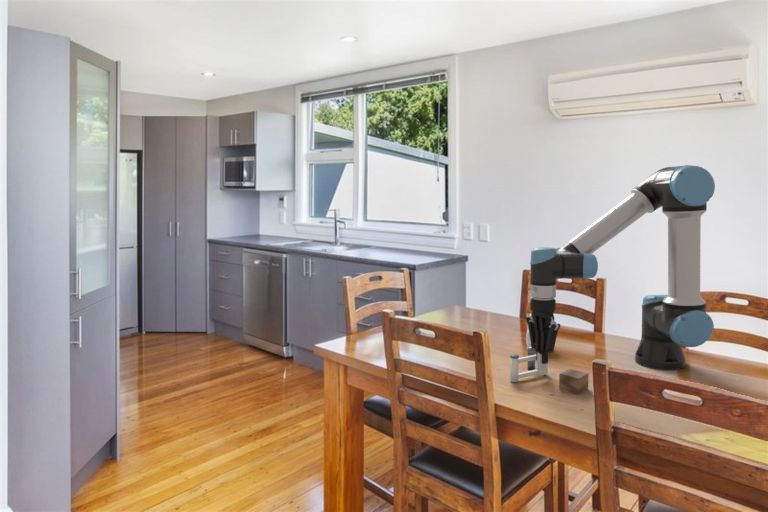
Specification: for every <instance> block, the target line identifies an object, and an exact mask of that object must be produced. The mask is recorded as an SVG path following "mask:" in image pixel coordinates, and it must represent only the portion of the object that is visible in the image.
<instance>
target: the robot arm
mask: <svg viewBox="0 0 768 512" xmlns="http://www.w3.org/2000/svg"><path fill="white" fill-rule="evenodd" d="M715 189H716V183H715V180H714V177H713V176H712V174H711V173H710V171H708V170H707V169H706V168H703V167H702V166H699V165H690V164H685V165H680V166H679V165H678V166H677V165H676V166H668V167H664V168H663V167H662V168H661V169H658V170H656V171H655V172H654V173H652V174H651V175H650V176H647V178H645V179H644V180H643V181H642V182H640V183H638V185H637V186H635V187H633V188H632V189H631V191H630V195H628V196H627V197H626V198H625V199H623V200H622V201H621V202H619V203H618V204H617V205H615V206H614V207H612V208H611V209H610V210H608V212H606V213H605V214H604V215H602V216H601V217H600V218H598V219H597V220H595V221H594V222H593V223H592V224H590V225H589V226H588V227H587V228H585V229H583V230H582V231H581V232H579V234H578V235H576V236H575V237H573V238H572V239H571V240H569V241H568V242H567V243H566V244H564V245H563V246H561V247H557V248H555V247H547V246H546V247H543V246H541V247H539V246H538V247H534V248H533V249H531V251H530V262H529V264H530V287H529V288H530V294H529V295H530V297H531V298H530V299H529V309H530V311H531V314H530V316H527V317H525V321H526V324H528V329H529V335H530V341H531V347H532V348H534V349H535V351H536V353H535V354H536V360H535V361H536V362H537V363H536V365H537V366H536V369H537V373H538V374H537V375H544V373H547V363H549V353H554V351H555V346H556V340H557V338H558V333H559V332H558V331H559V330H560V328H561V324H560V323H557V322H556V321H555V315H554V313H555V311H556V310H557V308H556V305H557V301H556V299H555V298H556V297H557V279H583V280H585V279H593V278H594V277H596V276H597V273H598V270H599V268H598V267H599V263H598V259H597V256H596V255H595V254H593V253H595V252H597V250H599V249H600V248H601V247H603V246H605V244H607V243H608V242H609V241H611V240H612V239H614V238H615V237H617V236H618V235H619V234H620V233H622V232H623V231H624V230H625V229H627V228H628V227H630V226H631V225H632V224H634V223H635V222H636V221H637V220H638V219H639V220H640V218H642V217H643V216H645V214H653V212H655V211H656V210H658V209H660V208H662V213H663V214H664V215H665V216H666V217H667V286H668V287H667V292H668V293H667V294H648V295H645V296H643V299H642V304H641V338H640V341H639V344H638V346H637V349H636V351H635V355H634V360H635V362H636V363H637V364H638V363H639V364H638V365H640V364H641V365H640V366H643V365H644V366H643V367H646V366H647V367H648V368H650V369H654V370H655V369H656V370H668V371H669V370H670V371H672V370H673V371H674V370H681V369H683V368H685V367H686V365H687V363H686V362H687V360H686V356H685V351H684V349H683V347H685V348H686V347H687V348H696V347H699V346H702V345H703V344H705V343H706V342H707V341H708V340H710V338H711V337H712V336H713V332H714V327H715V326H714V325H715V324H714V320H713V319H712V317H711V316H710V314H708V313H707V301H706V300H705V299H704V298H703V297H702V296H701V222H702V221H701V217H702V216H703V215H704V213H706V212H707V211H708V210H707V203H708V202H709V201H710V199H711V198H712V197H713V196H714V195H715V194H714V193H715V191H716V190H715Z"/></svg>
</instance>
